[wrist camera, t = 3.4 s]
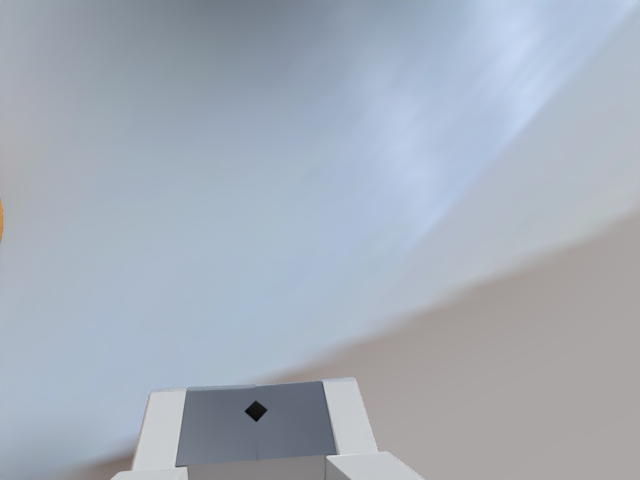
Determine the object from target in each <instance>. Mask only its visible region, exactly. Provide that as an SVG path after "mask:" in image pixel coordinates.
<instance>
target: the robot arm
mask: <svg viewBox="0 0 640 480" xmlns="http://www.w3.org/2000/svg"><path fill="white" fill-rule="evenodd" d="M111 480H425V479H424V478H422V477H421V476H420V475H419V474H417V473H416V472H415V471H413V470H412V469H411V468H409V467H408V466H407V465H406V464H404V463H403V462H402V461H400V460H399V459H398V458H396V457H395V456H394V455H392V454H391V453H390V452H378V449H377V446H376V443H375V440H374V436H373V433H372V430H371V427H370V424H369V420H368V417H367V414H366V410H365V408H364V404H363V401H362V398H361V394H360V391H359V388H358V385H357V382H356V380H355V379H354V378H353V377H348V378H338V379H325V380H321V381H314V382H298V383H282V384H267V385H233V386H206V387H189V388H186V387H183V388H165V389H153V391H152V392H151V393H150V395H149V397H148V401H147V405H146V409H145V413H144V417H143V421H142V425H141V430H140V434H139V438H138V442H137V446H136V450H135V454H134V458H133V462H132V466H131V470H130V471H124V472H118V473H117V474H116V475H115V476H114V477H113V478H112V479H111Z"/></svg>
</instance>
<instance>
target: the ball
mask: <svg viewBox="0 0 640 480" xmlns="http://www.w3.org/2000/svg"><path fill="white" fill-rule="evenodd" d="M2 231H3V209H2V204H1V199H0V241H1V238H2Z"/></svg>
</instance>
